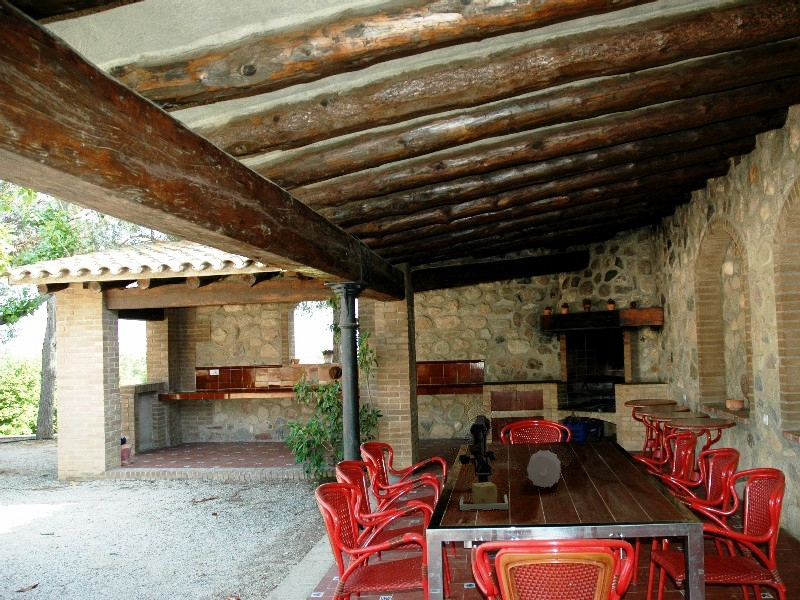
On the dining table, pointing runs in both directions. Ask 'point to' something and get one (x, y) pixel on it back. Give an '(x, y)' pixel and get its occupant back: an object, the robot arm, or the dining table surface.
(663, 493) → the dining table surface
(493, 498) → the cheese
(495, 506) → the grey u-shaped frame
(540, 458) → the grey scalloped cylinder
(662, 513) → the dining table surface
